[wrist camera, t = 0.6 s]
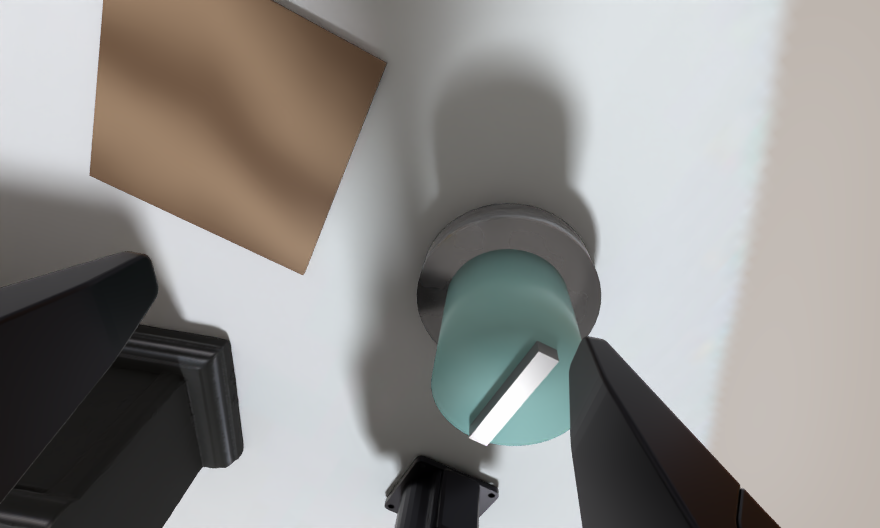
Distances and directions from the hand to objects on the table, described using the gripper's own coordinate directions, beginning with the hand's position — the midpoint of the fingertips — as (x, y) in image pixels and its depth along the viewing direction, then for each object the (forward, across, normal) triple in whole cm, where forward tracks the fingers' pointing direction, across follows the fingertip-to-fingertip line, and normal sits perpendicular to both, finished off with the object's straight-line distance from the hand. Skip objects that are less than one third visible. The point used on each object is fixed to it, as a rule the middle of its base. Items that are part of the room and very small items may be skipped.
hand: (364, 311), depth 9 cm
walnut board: (+13, +10, +2) cm, 17 cm away
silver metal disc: (+13, -5, +7) cm, 15 cm away
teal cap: (+11, -5, +7) cm, 14 cm away
